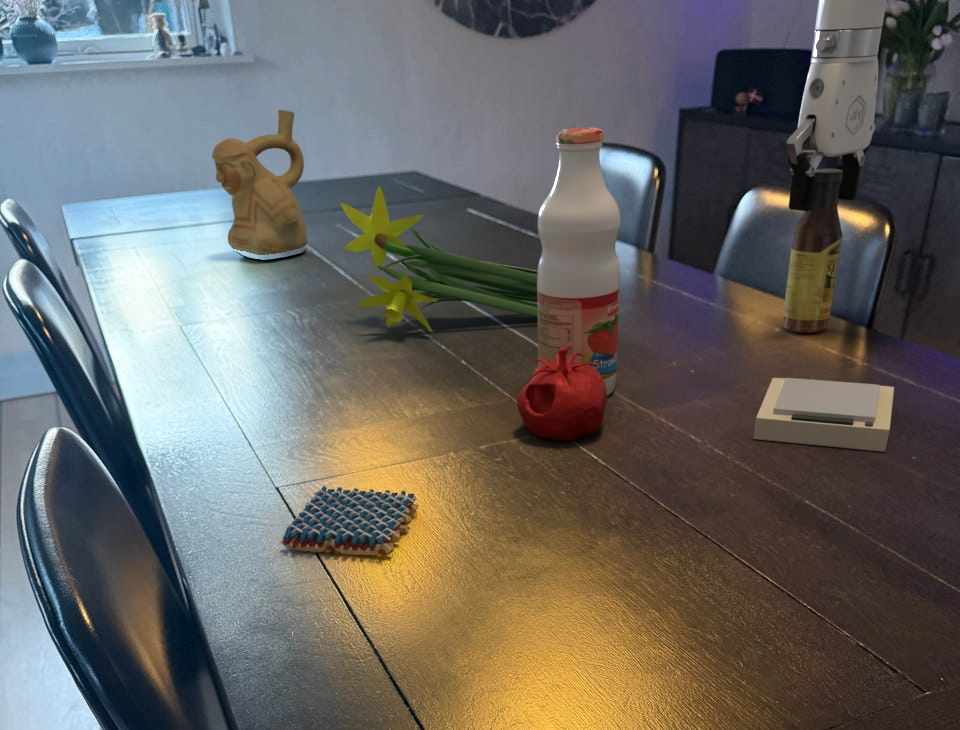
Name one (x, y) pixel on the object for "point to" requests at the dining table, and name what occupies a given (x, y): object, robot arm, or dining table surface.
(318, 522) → the woven mat
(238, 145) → the ceramic vessel
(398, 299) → the daffodil flowers
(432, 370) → the dining table surface
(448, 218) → the dining table surface
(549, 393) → the pomegranate
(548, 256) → the fruit juice
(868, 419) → the scale
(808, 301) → the sauce bottle
